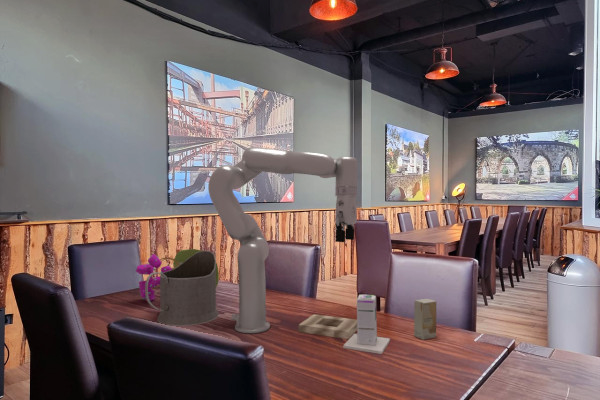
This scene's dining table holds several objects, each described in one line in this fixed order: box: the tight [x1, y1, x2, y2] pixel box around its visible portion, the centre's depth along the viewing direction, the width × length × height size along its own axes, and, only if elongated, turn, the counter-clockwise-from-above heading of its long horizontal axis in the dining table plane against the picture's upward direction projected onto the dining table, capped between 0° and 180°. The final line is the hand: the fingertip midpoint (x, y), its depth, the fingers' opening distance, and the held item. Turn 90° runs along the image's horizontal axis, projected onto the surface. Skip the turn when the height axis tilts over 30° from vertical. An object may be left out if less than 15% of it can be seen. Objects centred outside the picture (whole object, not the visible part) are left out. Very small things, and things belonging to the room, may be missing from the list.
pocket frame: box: [298, 313, 357, 340], centre depth 141 cm, size 18×14×2 cm
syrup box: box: [356, 294, 378, 345], centre depth 126 cm, size 6×6×14 cm
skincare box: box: [413, 298, 437, 340], centre depth 133 cm, size 6×4×12 cm
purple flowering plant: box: [135, 248, 220, 302], centre depth 187 cm, size 30×28×35 cm
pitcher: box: [145, 250, 219, 327], centre depth 153 cm, size 23×32×25 cm
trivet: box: [342, 333, 391, 355], centre depth 126 cm, size 12×12×1 cm
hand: (345, 240), depth 139 cm, fingers open, 9 cm apart
